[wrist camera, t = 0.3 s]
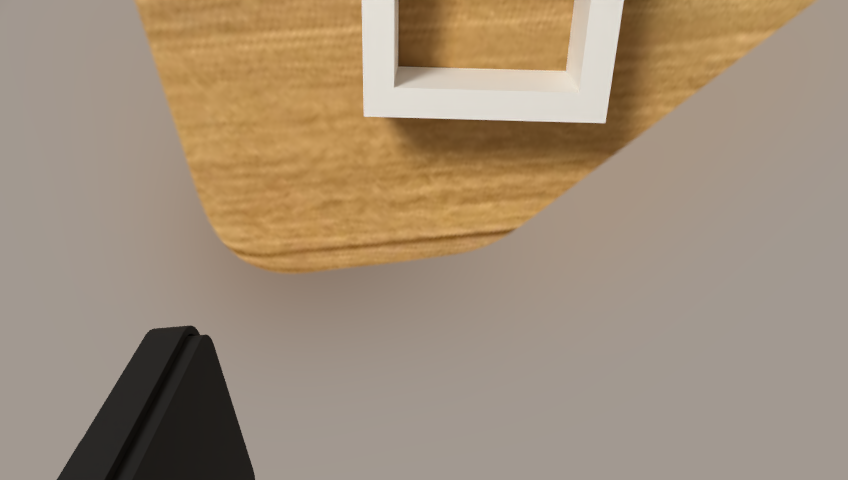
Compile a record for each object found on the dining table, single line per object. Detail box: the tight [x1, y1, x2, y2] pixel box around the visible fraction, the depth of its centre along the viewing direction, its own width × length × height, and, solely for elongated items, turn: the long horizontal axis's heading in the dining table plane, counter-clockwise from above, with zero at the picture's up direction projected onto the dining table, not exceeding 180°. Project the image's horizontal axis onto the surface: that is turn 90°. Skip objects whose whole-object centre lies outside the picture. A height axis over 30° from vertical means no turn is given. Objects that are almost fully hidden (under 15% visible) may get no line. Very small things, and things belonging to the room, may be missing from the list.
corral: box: [362, 0, 624, 123], centre depth 34 cm, size 10×12×4 cm
